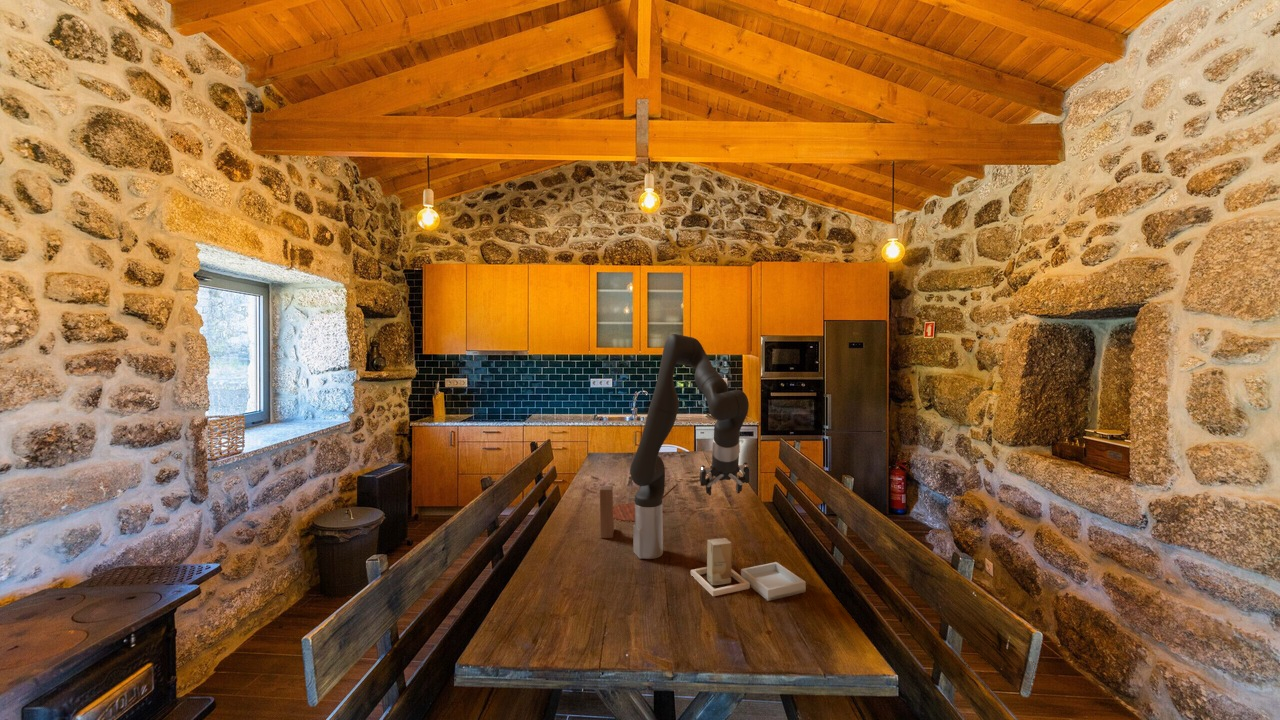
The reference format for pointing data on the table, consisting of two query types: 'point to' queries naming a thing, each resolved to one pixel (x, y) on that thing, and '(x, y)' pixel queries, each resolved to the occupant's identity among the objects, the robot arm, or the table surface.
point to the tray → (773, 581)
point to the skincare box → (719, 561)
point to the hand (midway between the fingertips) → (723, 492)
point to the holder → (722, 590)
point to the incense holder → (628, 510)
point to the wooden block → (606, 512)
